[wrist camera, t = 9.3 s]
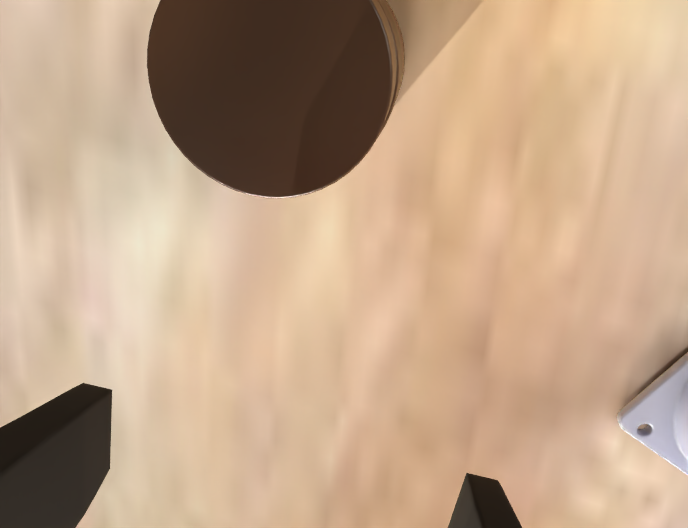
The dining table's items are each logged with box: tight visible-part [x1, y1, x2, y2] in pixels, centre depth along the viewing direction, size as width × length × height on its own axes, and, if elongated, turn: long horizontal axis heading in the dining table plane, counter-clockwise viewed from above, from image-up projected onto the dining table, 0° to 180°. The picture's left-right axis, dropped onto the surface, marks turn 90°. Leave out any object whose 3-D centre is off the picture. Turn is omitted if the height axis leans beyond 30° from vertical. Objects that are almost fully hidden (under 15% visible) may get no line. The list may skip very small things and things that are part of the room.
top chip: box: [147, 0, 397, 198], centre depth 14 cm, size 6×6×2 cm
